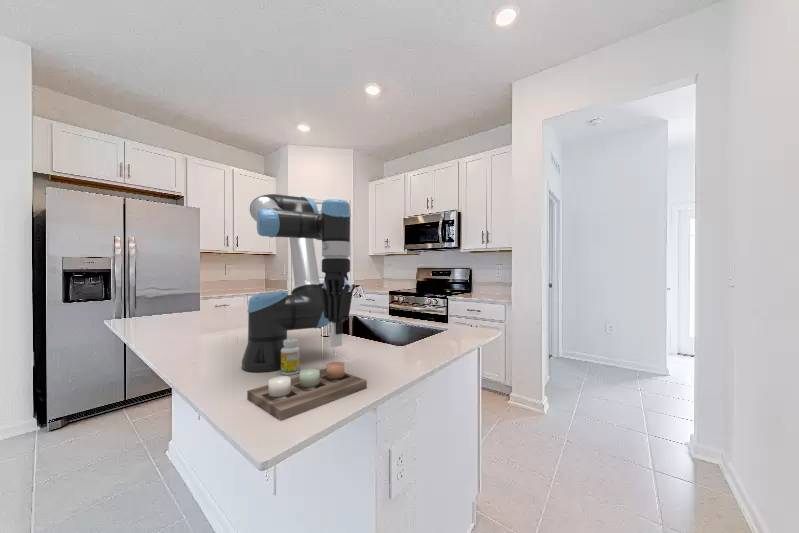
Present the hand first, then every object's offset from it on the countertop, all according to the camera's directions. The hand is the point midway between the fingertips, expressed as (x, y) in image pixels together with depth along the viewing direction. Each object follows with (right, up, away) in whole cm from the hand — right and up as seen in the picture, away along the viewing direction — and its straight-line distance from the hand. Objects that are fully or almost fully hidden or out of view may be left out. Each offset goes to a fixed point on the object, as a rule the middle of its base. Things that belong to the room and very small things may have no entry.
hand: (336, 345), depth 87 cm
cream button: (-11, -8, -12) cm, 18 cm away
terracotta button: (0, -8, 0) cm, 8 cm away
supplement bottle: (-16, -11, +10) cm, 22 cm away
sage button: (-6, -8, -6) cm, 11 cm away
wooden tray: (-6, -11, -6) cm, 13 cm away
